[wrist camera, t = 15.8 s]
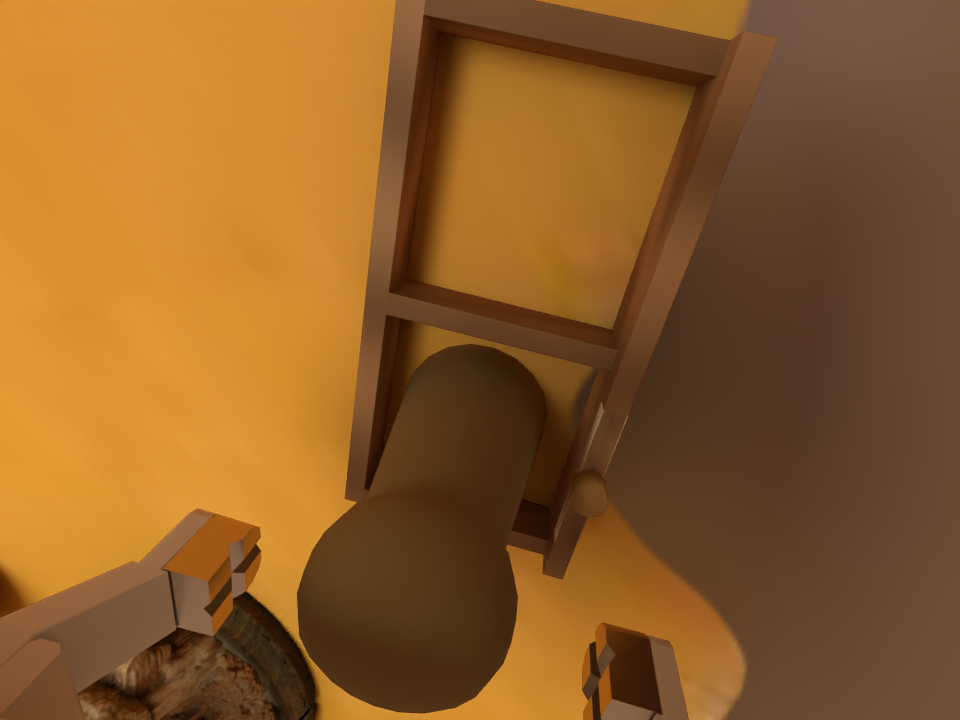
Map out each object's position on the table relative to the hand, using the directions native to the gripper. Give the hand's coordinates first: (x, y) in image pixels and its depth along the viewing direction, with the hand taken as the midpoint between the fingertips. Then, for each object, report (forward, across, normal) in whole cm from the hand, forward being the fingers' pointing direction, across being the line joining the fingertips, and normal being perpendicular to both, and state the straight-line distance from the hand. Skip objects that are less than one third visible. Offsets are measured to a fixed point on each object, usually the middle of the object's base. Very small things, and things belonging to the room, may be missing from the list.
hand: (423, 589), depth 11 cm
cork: (+10, 0, +1) cm, 10 cm away
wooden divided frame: (+10, 0, -4) cm, 10 cm away
